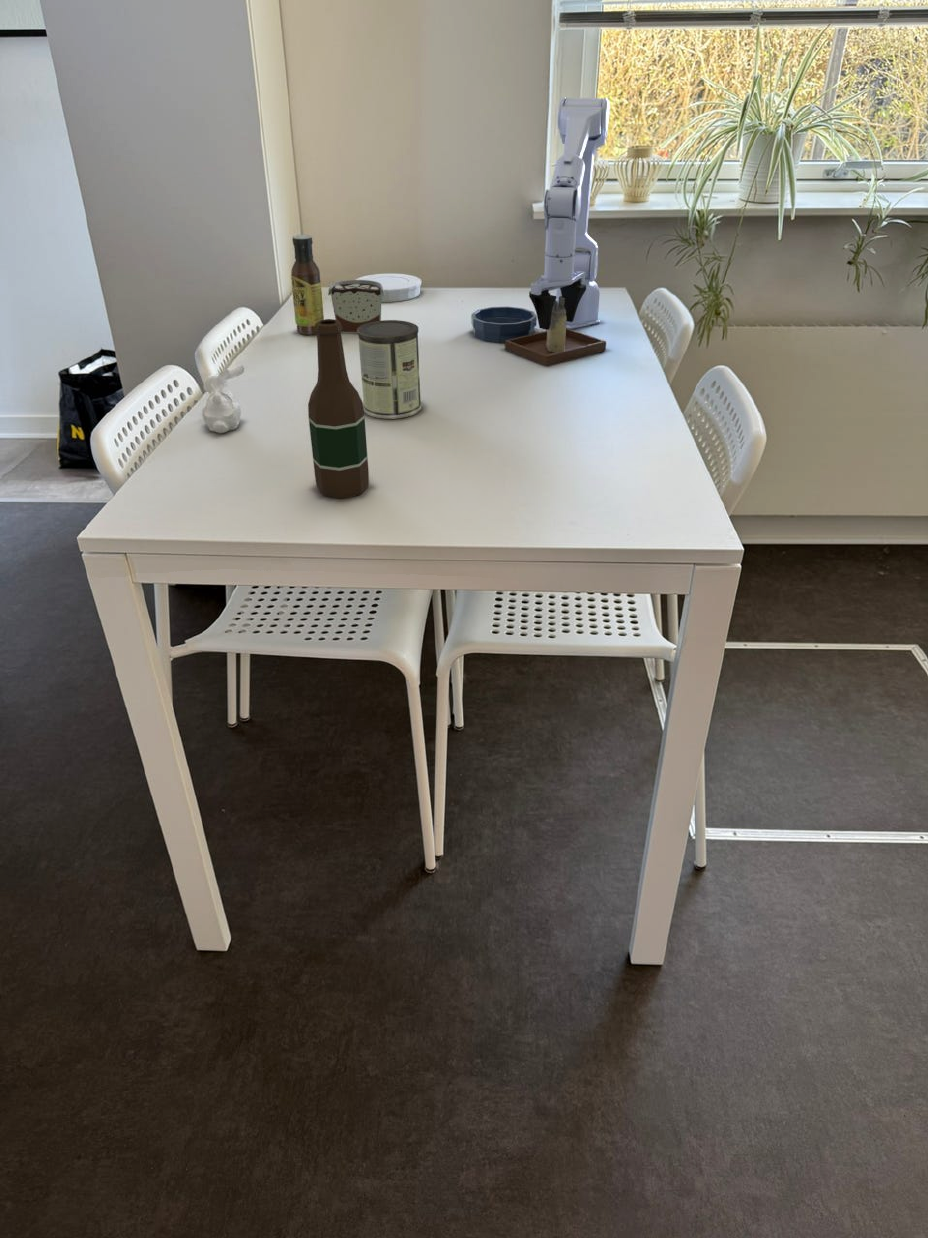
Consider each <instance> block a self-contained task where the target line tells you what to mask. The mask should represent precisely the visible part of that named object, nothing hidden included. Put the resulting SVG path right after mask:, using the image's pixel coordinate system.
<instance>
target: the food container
mask: <svg viewBox="0 0 928 1238" xmlns="http://www.w3.org/2000/svg"><path fill="white" fill-rule="evenodd" d="M382 293H383V296H385V294H384V290H383V287H382V285H381V284H380V283H378V282H375V281H369V280H356V279H350V280H349V279H347V280H341V281H338V282H334V283H331V284H330V285H329V288H328V293H327V296H330V297H331V303H332V308H333V314H334V318H335V319H334V320H338V321H339V322H341V325H342V327H343V330H342V331H341V334H357V329H358V327H360V326H361V325H364V324H366V323H370V322H375V321H382V302H381V301H382Z"/></svg>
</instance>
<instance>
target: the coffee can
mask: <svg viewBox="0 0 928 1238" xmlns="http://www.w3.org/2000/svg"><path fill="white" fill-rule="evenodd" d="M356 335H358V336H357V337H358V338H357V339H358V347H359V348H358V350H359V363H360V364H359V365H360V375H361V388H362V399H363V400H362V402H363V409H364V414H366V415H368V416H369V417H371V418H377V419H384V420H390V419H391V420H392V419H393V420H394V419H396V420H398V419H404V418H407V417H408V418H409V417H412V416H414V415H416V414H418V413H420V411H421V409H422V405H421V403H422V402H421V387H420V386H421V381H420V380H421V379H420V358H419V357H420V353H419V326H418V325H417V324H415V323H414V322H411V321H407V320H397V319H385V320H381V321H375V322H370V323H366V324H364V325H361V326H360V327H358V329H357V333H356Z"/></svg>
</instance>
